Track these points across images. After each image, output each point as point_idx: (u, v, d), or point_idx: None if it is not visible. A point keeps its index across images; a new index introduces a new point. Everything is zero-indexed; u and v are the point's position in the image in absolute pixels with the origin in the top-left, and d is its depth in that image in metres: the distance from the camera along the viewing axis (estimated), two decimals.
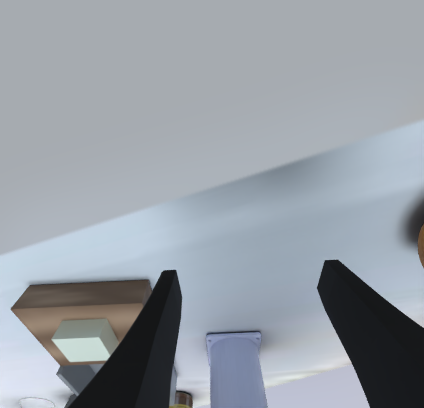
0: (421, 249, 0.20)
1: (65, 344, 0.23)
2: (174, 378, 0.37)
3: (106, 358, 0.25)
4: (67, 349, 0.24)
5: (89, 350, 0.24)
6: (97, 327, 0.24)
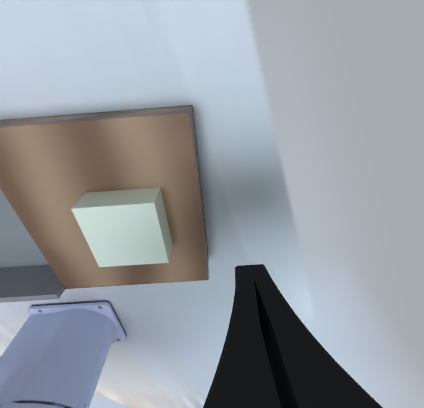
0: None
1: (140, 218, 0.14)
2: None
3: (103, 260, 0.15)
4: (122, 217, 0.14)
5: (126, 245, 0.15)
6: (169, 246, 0.16)
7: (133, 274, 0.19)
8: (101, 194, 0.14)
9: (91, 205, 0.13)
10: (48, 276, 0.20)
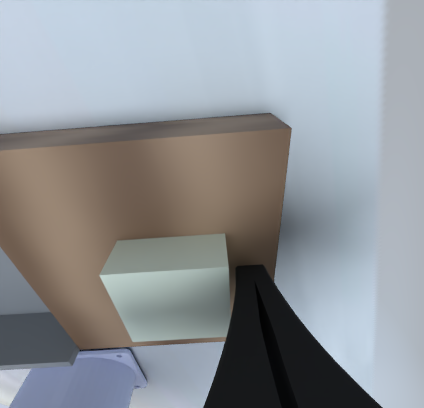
0: None
1: (202, 287, 0.09)
2: None
3: (139, 335, 0.11)
4: (176, 285, 0.09)
5: (175, 317, 0.10)
6: None
7: None
8: (140, 245, 0.10)
9: (129, 268, 0.09)
10: (58, 331, 0.16)
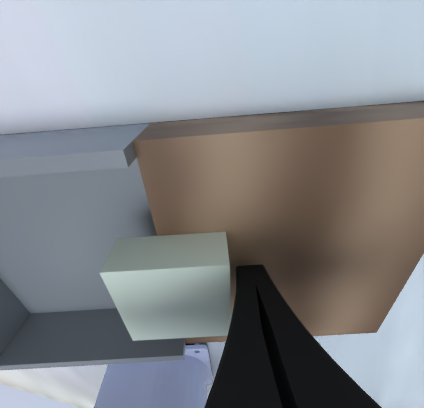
0: None
1: (203, 285, 0.09)
2: None
3: (139, 333, 0.11)
4: (176, 283, 0.09)
5: (176, 316, 0.10)
6: None
7: None
8: (140, 243, 0.10)
9: (130, 266, 0.09)
10: None
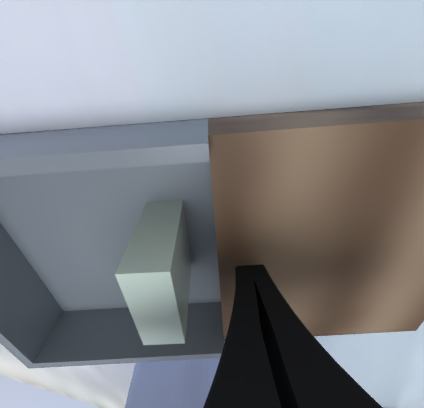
0: None
1: None
2: None
3: None
4: None
5: None
6: (163, 337, 0.10)
7: (324, 325, 0.14)
8: (172, 212, 0.11)
9: (146, 213, 0.11)
10: (196, 323, 0.16)
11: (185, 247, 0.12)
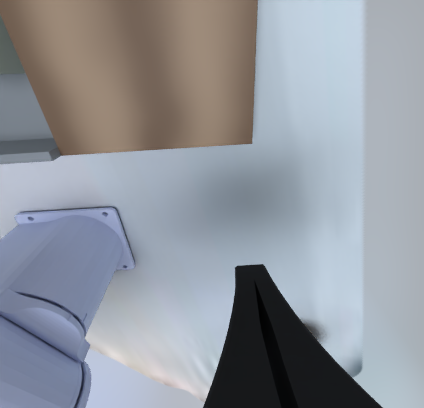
0: None
1: None
2: None
3: None
4: None
5: None
6: None
7: (153, 129, 0.14)
8: None
9: None
10: (39, 144, 0.16)
11: None
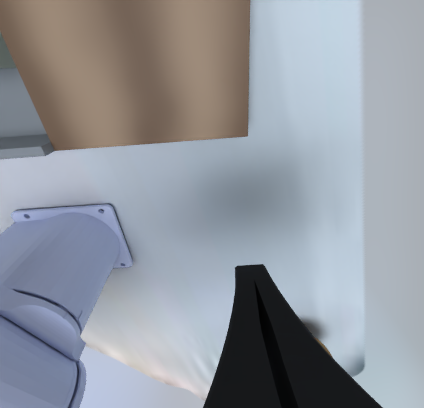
0: None
1: None
2: None
3: None
4: None
5: None
6: None
7: (147, 123, 0.14)
8: None
9: None
10: (33, 139, 0.15)
11: None
